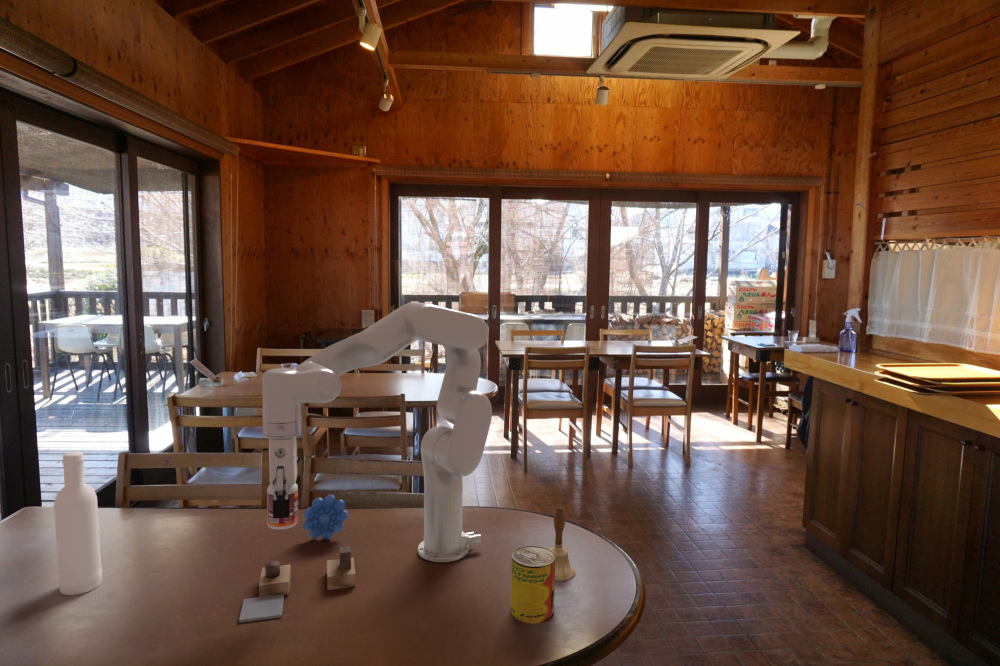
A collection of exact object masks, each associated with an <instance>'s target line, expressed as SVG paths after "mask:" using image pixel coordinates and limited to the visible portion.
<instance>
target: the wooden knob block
mask: <svg viewBox="0 0 1000 666" xmlns="http://www.w3.org/2000/svg"><path fill="white" fill-rule="evenodd" d="M264 565H265V567H262V569H261V574H260V579H259V583H258V594H259V595H258V597H265V596H273V595H281V594H284V597H285V596H289V595H290V590H291V589H290V587H291V580H292V575H291V574H292V571H291V568H292V567H291V565H292V564H284V565H281V562H280V561H278V560H271V561H267V562H266V563H265V564H264ZM326 568H327V569H326V573H327V574H326V581H327V583H326V586H327V587H326V588H327V591H332V590H339V589H347V588H348V589H349V588H355V587H356V567H355V558H354V557H353V556H352V550H351V545H348V546H339V558H337V559H327V560H326Z"/></svg>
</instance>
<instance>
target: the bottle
mask: <svg viewBox="0 0 1000 666" xmlns="http://www.w3.org/2000/svg"><path fill="white" fill-rule="evenodd" d="M84 462H85V457H84V452H83V451H69V452H66V453H64V454H63V455H62V461H61V464H62V466H63V467H62V468H63V478H64V480H63V481H64V486H63V487H62V488H61V489H60V491H58V492H57V493H56V496H55V499H54V503H53V511H54V524H55V527H54V528H55V542H56V553H57V554H56V555H57V568H58V587H59V593H61V594H62V595H66V596H76V595H77V596H78V595H82V594H86V593H89V592H91V591H93V590H96V589H97V588H98V587H99V586H101V584H102V583H103V567H102V559H101V558H102V556H101V541H100V540H101V539H100V527H99V526H100V525H99V524H100V523H99V522H100V521H99V511H98V509H99V507H98V505H99V504H98V496H97V493H96V491H95V489H94V488H93V487H92V486H90V485H89V484H87V483H86V481H85V469H84V468H85V465H84Z"/></svg>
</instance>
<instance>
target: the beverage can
mask: <svg viewBox="0 0 1000 666" xmlns="http://www.w3.org/2000/svg"><path fill="white" fill-rule="evenodd" d="M510 572H511V573H510V574H511V576H510V577H511V579H510V581H511V582H510V583H511V585H510V613H511V615H512V617H513V618H515V619H516V620H518V621H520V622H522V623H527V624H541V623H545V622H547V621H549V620H551V619H552V618H553V617H554V614H555V590H556V589H555V586H556V584H555V583H556V581H555V554H554V553H553V552H552V551H550V550H549V549H548V548H546V547H541V546H536V545H533V546H532V545H531V546H530V545H529V546H522V547H519V548H517V549H515V550H513V552H512V553H511V571H510Z"/></svg>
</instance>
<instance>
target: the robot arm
mask: <svg viewBox="0 0 1000 666" xmlns="http://www.w3.org/2000/svg"><path fill="white" fill-rule="evenodd" d="M488 338H489V326H488V325H487V322H486V321H485V320H484V319H483V318H482V317H481V316H479V315H477V314H473V313H468V312H464V311H461V310H460V311H459V310H455V309H451V308H447V307H443V306H439V305H436V304H432V303H424V302H417V301H412V302H411V301H410V302H407V303H405V304H403V305H401V306H400V307H398V308H396V309H395V310H392V311H391V312H390V313H388V314H387V315H385V316H384V317H383V318H381V319H379V320H377V321H376V322H375V323H373V324H371V325H370V326H368V327H367V328H366V329H364V330H362V331H360V332H358V333H354V334H353V335H350V336H349V337H346V338H344V339H341V340H339V341H338V342H335V343H333V344H331V345H328V346H327V347H325V348H323V349H322V350H320V351H318V352H317V353H315V354H314V355H312V356H310V357H309V358H307V359H306V360H304V361H303V362H301V363H300V364H299V365H298V366H297V367H296V369H294V368H289V367H283V368H282V367H281V368H280V367H278V368H277V367H276V368H271V369H268V370H266V371H264V373H263V375H262V378H261V379H262V382H261V383H262V385H261V386H262V388H261V389H262V390H261V391H262V437H263V438H265V439H268V464H269V465H268V466H269V468H268V469H269V480H270V481H269V485H270V484H271V485H272V486H274V499H273V518H288V517H289V515H290V498H288V486H289V485H288V484H292V485H294V484H295V483H296V481H297V479H298V478H297V476H298V447H297V446H298V445H297V444H298V443H297V437H300V436H301V435H302V416H301V415H302V404H304V403H305V404H327V403H329V402H332V401H334V400H335V399H336V398H337V397H338V396H339V395H340V393H341V391H342V381H341V379H340V377H341V376H342V375H344V374H346V373H348V372H351V371H353V370H357V369H361V368H369V367H373V366H374V367H375V366H378V365H382V364H383V363H386V362H387V361H388V360H390V359H391V358H393V357H394V356H396V355H397V354H398V353H400V352H401V351H403V350H404V349H406V348H407V347H409V346H410V345H412V344H413V343H414V342H416V341H421V342H427V343H429V344H430V343H431V344H435V345H438V346H442V347H443V348H444V352H445V355H446V365H445V366H446V367H445V371H444V375H443V379H442V382H441V387H440V390H439V394H438V397H437V402H436V412H437V414H438V416H439V417H440V418H441V419H443V420H444V421H446V422H448V423H449V424H452V425H453V426H452V428H451V427H448V426H444V425H438V426H437V425H436V426H434V427H431V428H429V429H428V430H427V431H426V432H425V433H424V434H423V437H422V440H421V441H420V455H421V456H420V457H421V462H422V468H423V469H422V470H423V486H424V487H423V489H424V490H423V508H424V509H423V511H424V512H423V541H421V542H420V543H419V544H418V546H417V555H419V557H421V559H424V560H426V561H428V562H433V563H450V562H455V561H459V560H460V559H462V558H464V557H465V556H466V555H467V554H468V553H469V545H470V544H477V543H478V544H479V543H482V535H481V534H475V533H474V531H470V532H468V531H467V532H465V531H463V502H464V501H463V493H464V487H463V486H464V482H463V477H468V476H470V475H471V474H473V473H474V472H475V471H476V470H477V468H478V466H479V465H480V463H481V460H482V457H483V454H484V451H485V446H486V443H487V439H488V435H489V431H490V426H491V424H492V417H493V409H492V408H493V407H492V403H491V401H490V399H489V398H488V396H487V395H486V394H485V393H483V392H482V391H479V390H477V389H478V383H479V379H480V373H481V366H482V363H481V360H482V359H481V354H480V350H479V349H481V348H482V347H483V346H484V345H485V344H486V342H487V341H488ZM283 481H286V484H283ZM276 482H277V483H276ZM283 487H285V489H283Z"/></svg>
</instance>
